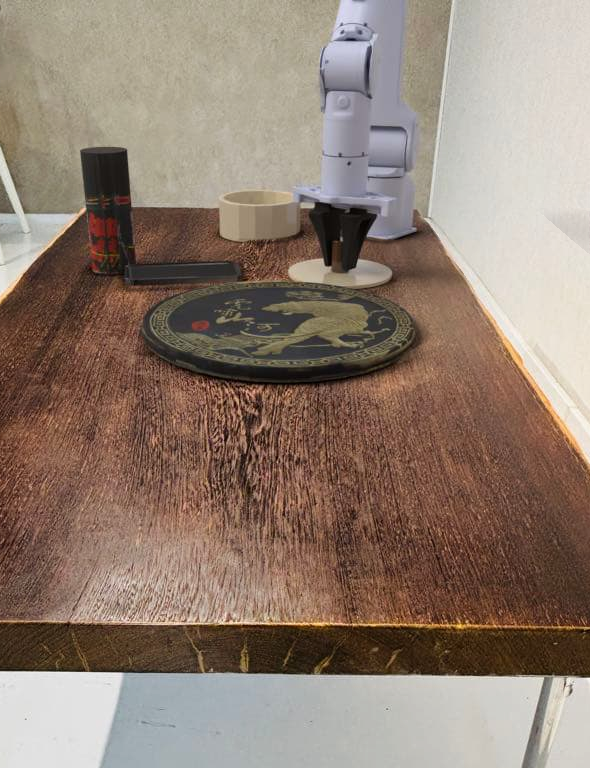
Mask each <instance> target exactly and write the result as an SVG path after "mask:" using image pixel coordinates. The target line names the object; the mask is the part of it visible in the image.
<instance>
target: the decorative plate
mask: <svg viewBox="0 0 590 768" xmlns="http://www.w3.org/2000/svg"><path fill="white" fill-rule="evenodd" d="M141 339H142V340H143V342H144V343H145V345H146V347H147V348H148V349H149V350H150V351H151V352H152V353H154V355H156V356H157V357H159V358H160V359H163V360H164V361H166V362H167V363H170V364H172V365H174V366H177V367H179V368H183V369H185V370H188V371H192V372H194V373H199V374H202V375H203V374H204V375H208V376H212V377H217V378H223V379H231V380H238V381H245V382H256V383H257V382H259V383H280V384H281V383H311V382H320V381H329V380H336V379H343V378H349V377H353V376H359V375H363V374H367V373H370V372H374V371H377V370H379V369H382V368H385V367H387V366H389V365H392V364H393V363H396V362H397V361H399V360H401V359H402V358H404V356H405V355H406V354H408V353H409V352H410V350H411V349H410V348H411V347H412V346H413V343H414V341H415V339H416V327H415V322H414V319H413V318H412V316H411V315H410V313H409V312H408V311H407V310H406V309H404V308H403V307H401V306H400V305H399V304H397V302H393V301H391V300H389V299H387V298H384V297H383V296H380V295H377V294H374V293H371V292H368V291H366V290H365V291H364V290H362V289H352V288H347V287H343V286H336V285H329V284H323V283H312V282H301V281H293V280H251V281H238V282H225V283H221V284H212V285H207V286H202V287H197V288H193V289H188V290H185V291H182V292H179V293H176V294H172V295H171V296H168V297H166V298H164V299H161V300H160V301H159V302H157V303H155V304H154V305H153V306H152V307H150V308H149V309H148V310H147V312H146V313H145V315H144V316H143V318H142V321H141Z"/></svg>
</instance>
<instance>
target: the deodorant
mask: <svg viewBox="0 0 590 768" xmlns="http://www.w3.org/2000/svg"><path fill="white" fill-rule="evenodd" d="M79 153H80V163H81V172H82V184H83V191H84V192H83V193H84V201H85V210H86V211H85V212H86V220H87V230H88V240H89V249H90V250H89V251H90V257H91V258H90V259H91V268H92V272H94V273H95V274H98V275H105V276H117V275H125V266H127V265H131V264H137V259H136V258H137V255H136V245H135V231H134V221H133V208H132V207H133V206H132V194H131V181H130V169H129V156H128V148H125V147H121V146H92V147H86V148H82V149H80V150H79Z"/></svg>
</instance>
